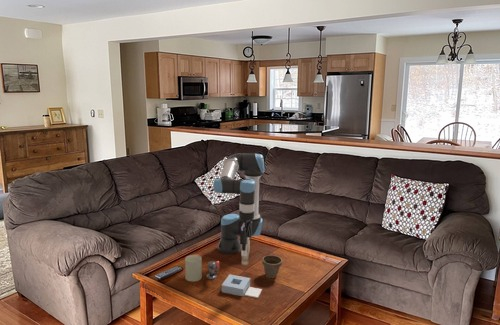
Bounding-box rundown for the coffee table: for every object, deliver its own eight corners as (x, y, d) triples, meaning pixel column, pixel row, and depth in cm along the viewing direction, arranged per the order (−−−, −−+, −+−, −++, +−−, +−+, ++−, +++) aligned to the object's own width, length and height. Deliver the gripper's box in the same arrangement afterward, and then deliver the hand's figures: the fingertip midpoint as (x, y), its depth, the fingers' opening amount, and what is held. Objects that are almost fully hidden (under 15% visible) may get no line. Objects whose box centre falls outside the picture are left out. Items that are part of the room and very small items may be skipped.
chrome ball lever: (213, 263, 212) (213, 254, 211) (221, 271, 204) (221, 261, 203) (206, 265, 210) (206, 255, 209) (214, 273, 202) (214, 263, 200)
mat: (249, 287, 200) (249, 286, 200) (261, 290, 198) (261, 289, 198) (244, 295, 193) (244, 294, 193) (257, 298, 191) (257, 297, 191)
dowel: (242, 261, 196) (243, 236, 193) (249, 262, 195) (250, 237, 192) (240, 264, 193) (241, 238, 190) (247, 265, 192) (248, 240, 189)
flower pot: (285, 278, 212) (286, 261, 210) (267, 282, 206) (268, 265, 204) (274, 269, 222) (275, 253, 220) (257, 272, 216) (258, 256, 214)
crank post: (209, 273, 214) (209, 263, 213) (218, 274, 213) (218, 265, 211) (204, 278, 209) (204, 268, 208) (214, 280, 207) (214, 270, 206)
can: (193, 283, 203) (193, 263, 201) (181, 277, 208) (181, 257, 206) (205, 276, 210) (205, 257, 208) (193, 271, 216) (193, 252, 213)
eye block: (229, 280, 207) (229, 274, 206) (250, 284, 203) (250, 278, 203) (221, 292, 195) (221, 285, 195) (243, 296, 192) (243, 289, 191)
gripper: (245, 205, 197) (243, 246, 202) (233, 214, 182) (232, 259, 186) (258, 207, 195) (257, 249, 199) (248, 216, 179) (247, 262, 184)
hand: (245, 254), depth 193 cm, fingers closed on dowel, 3 cm apart
